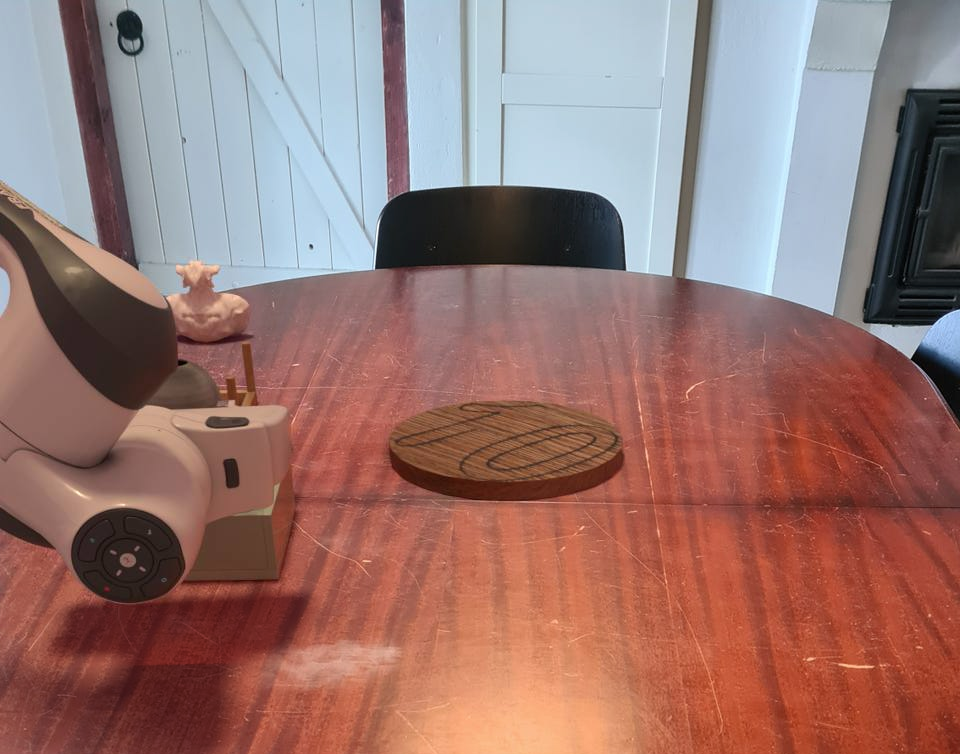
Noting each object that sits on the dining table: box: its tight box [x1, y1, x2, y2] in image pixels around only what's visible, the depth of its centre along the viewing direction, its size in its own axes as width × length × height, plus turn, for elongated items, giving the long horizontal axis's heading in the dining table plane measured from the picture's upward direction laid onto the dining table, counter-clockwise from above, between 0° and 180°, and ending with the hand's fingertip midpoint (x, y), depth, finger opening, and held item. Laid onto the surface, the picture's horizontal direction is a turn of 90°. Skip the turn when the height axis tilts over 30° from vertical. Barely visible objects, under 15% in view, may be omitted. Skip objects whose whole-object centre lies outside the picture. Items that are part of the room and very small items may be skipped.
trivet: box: [388, 399, 624, 501], centre depth 132 cm, size 25×25×2 cm
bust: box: [165, 259, 251, 343], centre depth 165 cm, size 12×8×11 cm
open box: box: [182, 461, 297, 582], centre depth 113 cm, size 16×16×6 cm
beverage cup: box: [147, 358, 222, 410], centre depth 108 cm, size 7×7×20 cm
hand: (170, 412), depth 103 cm, fingers open, 8 cm apart
